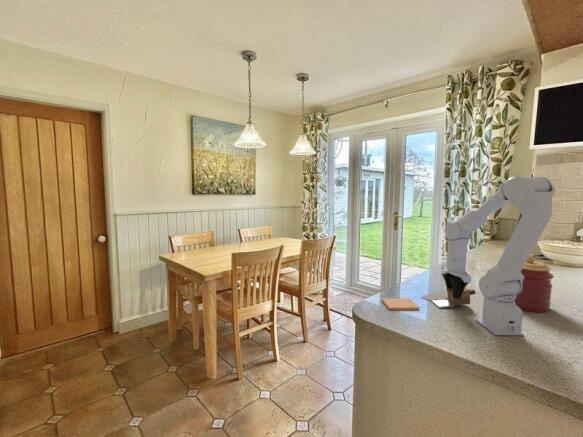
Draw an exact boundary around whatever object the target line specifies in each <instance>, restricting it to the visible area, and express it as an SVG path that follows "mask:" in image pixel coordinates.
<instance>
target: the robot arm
mask: <svg viewBox="0 0 583 437" xmlns="http://www.w3.org/2000/svg"><path fill="white" fill-rule="evenodd" d="M556 191H557V190H556V188H555V186H554V185H553V183H552V182H551V180H550V179H549V178H547V177H546V176H545V177H544V176H520V175H514V176H511V177H509V178H508V179H506V180H505V182H502V183H501V184H500V185H499V188H498V189H497V191H496V192H494V193H493V194H492V195H491V196H490V197H489V198H488V199H486V201H485V202H484V203H483V204H481V206H479V207H478V208H475V207H473V208H468V209H466V213H465V214H464V215H462V216H461V217H459V218H457V219H456V221H455V222H451V221H450V222H448V223H447V225H446V226H445V228H444V235H445V237H446V238H447V239H448V240H447V251H446V252H447V253H446V264H441V270H442V272H443V273H442V274H441V276H442V278H443V280H444V283H445V287H446V291H447V289H449V288H453V298H457V299H460V298H461V295H462V293H463V291H464V289H465V287H466V288H467V285H468V284H469V283H470V284H471V283H472V276H471V275H470V274H469V273H468V272H467V270H466V268H467V267H466V266H467V258H468V257H467V252H468V245H469V243H470V239H471V238H472V236H474V235H473V234H474V233H475V231H476V230H478V229H480V227H482V226H483V225H485V224H486V223H487V222H488V217H489V216H491V215H492V214H493V213H495V212H496V211H498V210H500V209H501V208H503V207H504V206H506V205H507V204H509V203H511V204H512V205H513V206H514V207H515V208H516V209H517V210H518V211H519V212H520V214H521V215H520V216H521V217H520V219H519V220H518V223H517V225H516V226H515V228H514V230H513V232H512V235H511V236H510V238H509V241H508V242H507V244H506V247H505V248H504V250H503V252H502V254H501V256H500V258H499V260H498V262H497V264H495V265H494V266H492V267H491V268H489V269H488V270H487V271H486V273H485V274H484V275H483V276H481V277H480V278H479V280H478V288H479V291H480V293H481V294H482V297H483V305H482V317H481V318H479V317H476V318H475V321H476V322H478V323H479V324H480V325H481V326H483V327H485V329H486V330H488V331H490V332H491V333H492V334H494V335H495V336H525V333H524V332H522V330H523V329H522V327H523V320H524V319H523V318H524V317H523V316H524V313H523V310H521V309H520V308H519V307H518V306H517V305H516V303H515V299H516V295H517V294H519V293H520V292H521V291H522V282H523V279H524V276H523V274H522V273H521V270H522V268H523V267H524V265H525V263H526V261H527V259H528V258H529V256H531V254H532V252H533V250H534V248H535V247H536V245H537V243H538V242H539V240H540V238H541V236H542V234H543V232H544V231H545V229H546V227H547V225H548V223H549V222H550V220H551V219H552V218H551V217H552V216H553V197H554V194H555V193H556ZM447 293H448V291H447Z"/></svg>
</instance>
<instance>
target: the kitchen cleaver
mask: <svg viewBox="0 0 583 437" xmlns="http://www.w3.org/2000/svg"><path fill="white" fill-rule="evenodd" d="M468 289H469V290H470V295H473V294H475V293H476V290H475V289H470V288H468ZM422 296H423V297H422ZM422 296H420V298H421V299H423V298H424V299H423V300H426V301H429V302H430V303H432V301H436V300H448V293H447V290H439V291H435V292H432V293H427V294H425V295H422Z"/></svg>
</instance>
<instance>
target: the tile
mask: <svg viewBox="0 0 583 437" xmlns="http://www.w3.org/2000/svg"><path fill="white" fill-rule="evenodd" d="M382 301H383V302H384V303H383V302H382ZM381 302H382V303H383V304H384V305H385V306H386V308H387V309H388V310H389V311H420V307H419V305H417V304H416V303H415V302H414V301H413V300H412V299H411V298H406V297H405V298H402V297H401V298H399V297H398V298H396V297H395V298H390V297H388V298H385V297H384V298H381Z"/></svg>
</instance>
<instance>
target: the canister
mask: <svg viewBox="0 0 583 437" xmlns="http://www.w3.org/2000/svg"><path fill="white" fill-rule="evenodd" d="M551 270H552V269H551V267H550V266H549V265H546V263H544V262H540V261H536V259H535V257H534V256H532V255H530V256H529V258H528V259H527V261H526V263H525V265H524V267H523V268H522V270H521V273H522V274H523V276H524V279H523V282H522V291H521V292H520V293H519V294H517V295H516V299H515V303H516V305H517V306H518V307H519V308H520V309H521V310H522V311H526V312H532V313H547V312H549V310H550V308H551V298H552V297H551V296H552V288H553V284H552V279H554V275H553V273H551V272H550V271H551Z"/></svg>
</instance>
